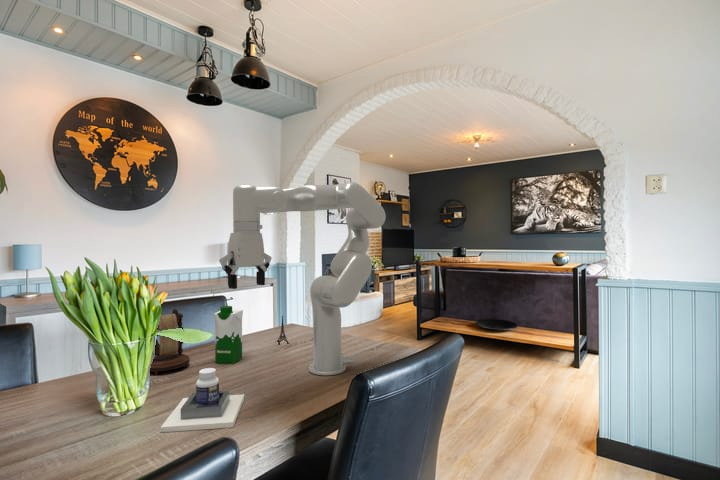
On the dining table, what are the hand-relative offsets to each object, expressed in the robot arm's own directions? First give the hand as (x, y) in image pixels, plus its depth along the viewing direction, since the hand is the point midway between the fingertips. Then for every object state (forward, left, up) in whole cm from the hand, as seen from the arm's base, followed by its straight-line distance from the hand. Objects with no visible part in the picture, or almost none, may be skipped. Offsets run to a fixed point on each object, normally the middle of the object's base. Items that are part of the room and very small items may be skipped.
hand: (247, 286), depth 110 cm
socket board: (+8, +14, -30) cm, 34 cm away
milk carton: (+11, -29, -31) cm, 44 cm away
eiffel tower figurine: (-7, -49, -31) cm, 58 cm away
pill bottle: (+8, +14, -29) cm, 33 cm away
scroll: (+31, -24, -31) cm, 50 cm away
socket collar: (+8, +14, -29) cm, 33 cm away
